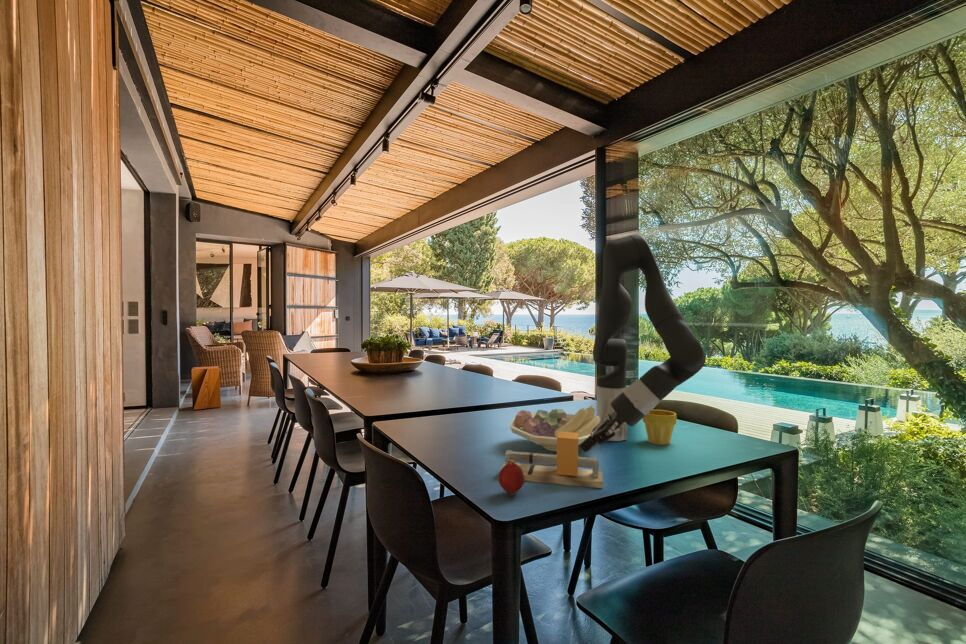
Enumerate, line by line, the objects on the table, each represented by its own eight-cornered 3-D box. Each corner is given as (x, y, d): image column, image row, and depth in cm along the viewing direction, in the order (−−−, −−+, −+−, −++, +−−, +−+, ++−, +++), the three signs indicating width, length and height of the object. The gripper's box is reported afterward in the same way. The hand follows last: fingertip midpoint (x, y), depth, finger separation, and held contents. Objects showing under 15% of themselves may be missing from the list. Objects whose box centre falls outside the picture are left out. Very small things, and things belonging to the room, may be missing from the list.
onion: (508, 487, 108) (509, 454, 108) (529, 494, 105) (529, 459, 105) (493, 495, 104) (493, 459, 104) (514, 502, 100) (514, 465, 100)
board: (601, 476, 117) (602, 470, 117) (602, 488, 109) (603, 481, 109) (504, 467, 122) (504, 461, 122) (499, 478, 115) (499, 471, 115)
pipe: (598, 473, 115) (598, 457, 115) (598, 478, 112) (598, 461, 112) (507, 465, 120) (507, 450, 120) (504, 469, 117) (505, 453, 117)
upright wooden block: (577, 468, 117) (578, 432, 117) (577, 476, 111) (577, 438, 111) (557, 466, 118) (558, 431, 118) (556, 474, 113) (557, 437, 112)
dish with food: (611, 463, 127) (613, 412, 127) (510, 461, 128) (511, 410, 128) (590, 437, 155) (591, 395, 155) (507, 435, 156) (507, 393, 156)
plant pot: (637, 437, 155) (638, 408, 155) (669, 438, 155) (669, 409, 155) (647, 446, 145) (648, 415, 145) (681, 447, 145) (681, 416, 144)
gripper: (621, 386, 118) (572, 431, 121) (626, 395, 105) (570, 444, 108) (643, 408, 117) (592, 452, 120) (650, 420, 104) (593, 469, 107)
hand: (582, 449), depth 114 cm, fingers closed
